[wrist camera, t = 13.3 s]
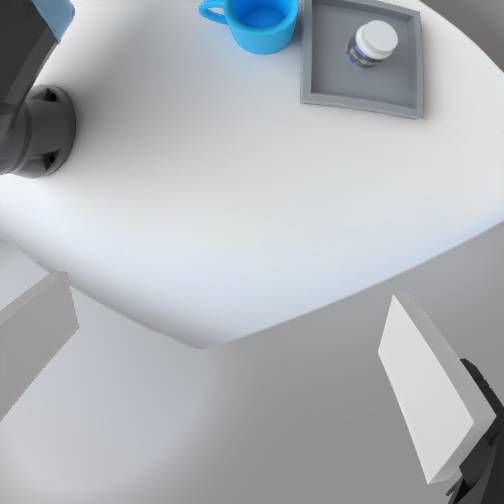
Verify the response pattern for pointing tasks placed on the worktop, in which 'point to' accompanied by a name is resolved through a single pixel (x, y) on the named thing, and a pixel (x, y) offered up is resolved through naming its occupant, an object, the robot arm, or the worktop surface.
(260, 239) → the worktop surface
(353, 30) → the tray
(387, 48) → the pill bottle
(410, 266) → the worktop surface
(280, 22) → the mug
